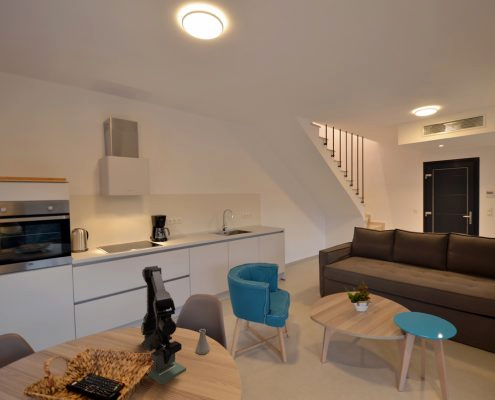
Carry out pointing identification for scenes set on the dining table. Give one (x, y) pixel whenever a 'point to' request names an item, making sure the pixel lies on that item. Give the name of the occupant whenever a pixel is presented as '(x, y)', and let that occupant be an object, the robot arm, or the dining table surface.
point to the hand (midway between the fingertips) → (163, 362)
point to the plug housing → (160, 359)
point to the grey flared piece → (202, 343)
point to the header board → (167, 372)
